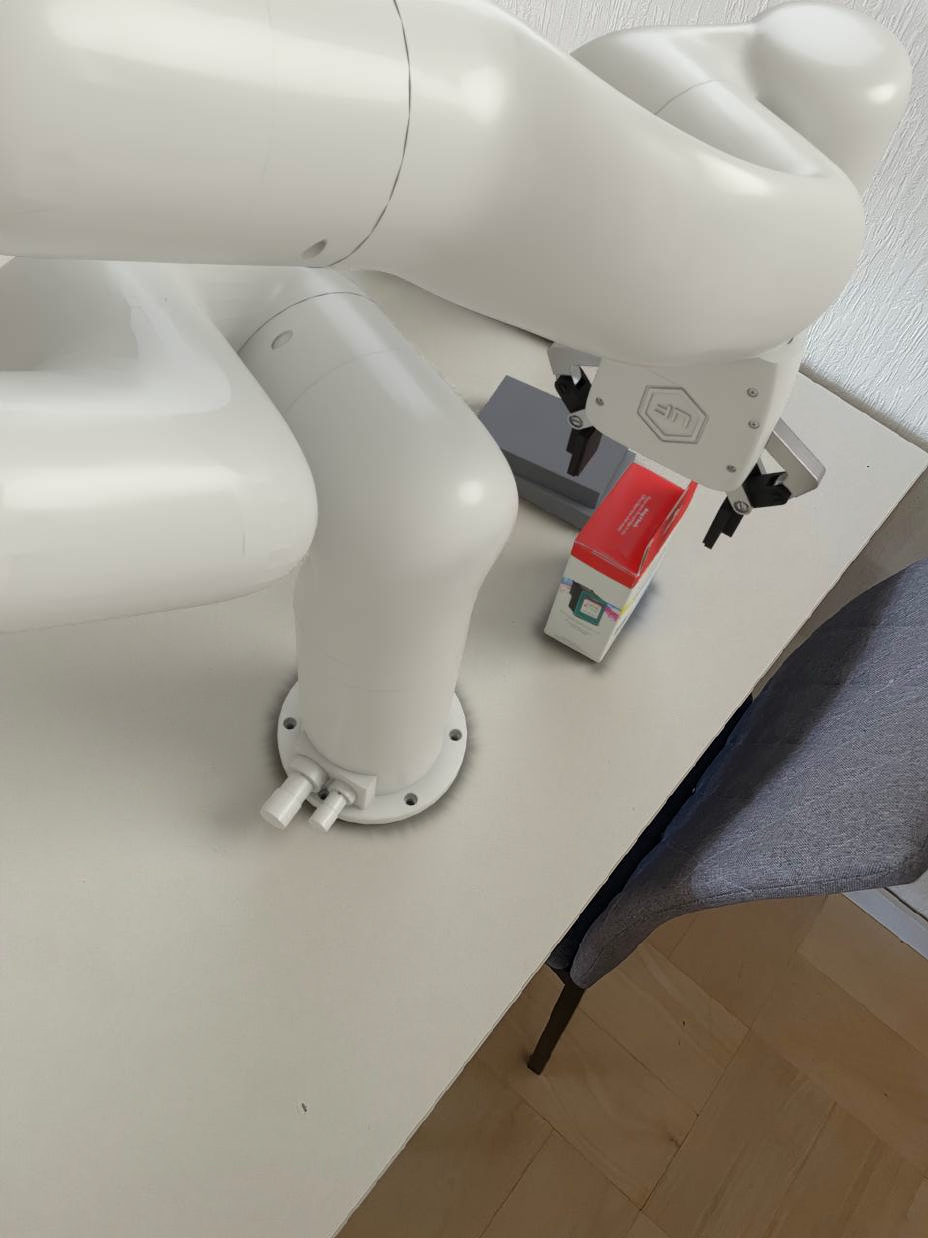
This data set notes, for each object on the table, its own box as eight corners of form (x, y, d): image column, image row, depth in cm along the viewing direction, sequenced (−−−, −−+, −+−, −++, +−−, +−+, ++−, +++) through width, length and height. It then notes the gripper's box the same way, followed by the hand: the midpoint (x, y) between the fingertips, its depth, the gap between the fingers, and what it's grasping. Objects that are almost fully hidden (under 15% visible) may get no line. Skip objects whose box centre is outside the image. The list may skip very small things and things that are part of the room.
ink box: (594, 557, 79) (643, 427, 67) (650, 588, 78) (711, 463, 66) (540, 633, 75) (582, 510, 62) (598, 668, 74) (653, 549, 61)
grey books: (585, 534, 80) (596, 503, 77) (453, 462, 82) (459, 429, 79) (631, 468, 84) (644, 435, 81) (505, 401, 87) (512, 367, 83)
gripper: (547, 250, 51) (502, 471, 65) (871, 406, 47) (747, 603, 62) (614, 176, 54) (558, 401, 69) (920, 316, 51) (792, 521, 65)
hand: (647, 496), depth 65 cm, fingers open, 9 cm apart
